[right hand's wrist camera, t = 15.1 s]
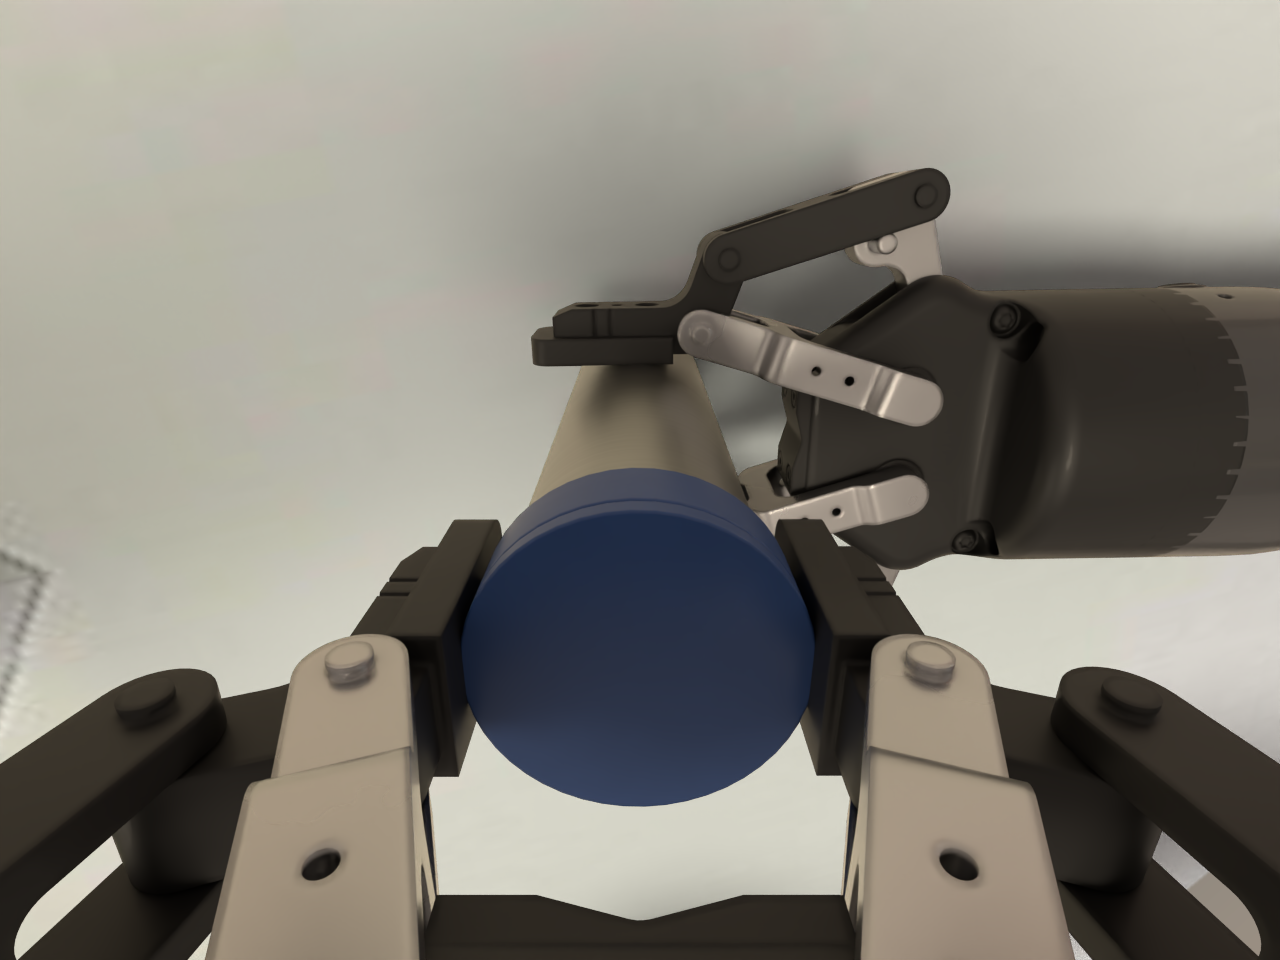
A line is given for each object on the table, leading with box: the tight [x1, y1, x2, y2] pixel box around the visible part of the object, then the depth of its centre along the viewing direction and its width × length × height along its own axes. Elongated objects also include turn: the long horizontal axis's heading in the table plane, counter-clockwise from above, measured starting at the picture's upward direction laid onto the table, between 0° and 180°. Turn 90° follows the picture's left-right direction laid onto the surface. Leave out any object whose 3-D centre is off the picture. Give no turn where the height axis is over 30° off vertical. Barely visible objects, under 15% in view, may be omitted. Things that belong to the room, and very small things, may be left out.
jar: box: [529, 354, 749, 507], centre depth 18 cm, size 4×4×17 cm
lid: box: [461, 468, 815, 807], centre depth 10 cm, size 5×5×2 cm
